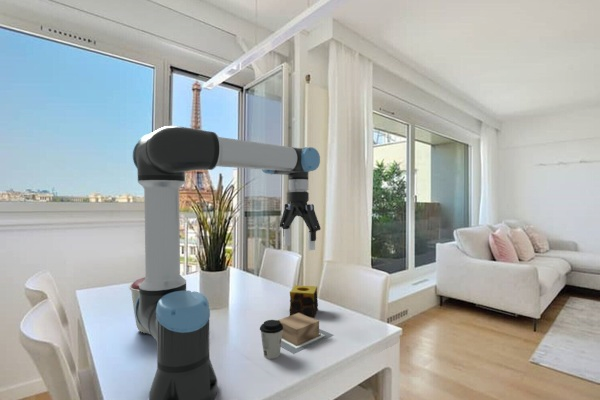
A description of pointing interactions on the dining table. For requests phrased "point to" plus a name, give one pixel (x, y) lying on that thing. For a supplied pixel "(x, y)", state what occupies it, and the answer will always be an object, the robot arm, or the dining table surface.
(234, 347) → the dining table surface
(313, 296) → the candle
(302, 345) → the gray placemat
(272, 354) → the coffee cup
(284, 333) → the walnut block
